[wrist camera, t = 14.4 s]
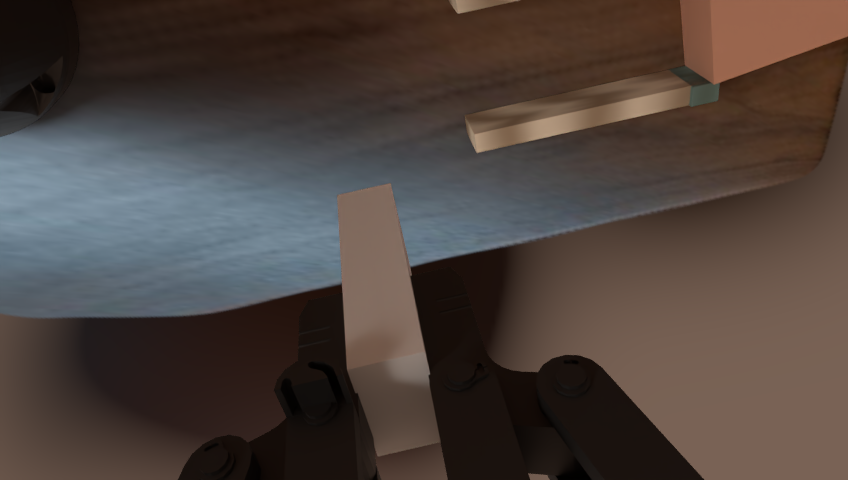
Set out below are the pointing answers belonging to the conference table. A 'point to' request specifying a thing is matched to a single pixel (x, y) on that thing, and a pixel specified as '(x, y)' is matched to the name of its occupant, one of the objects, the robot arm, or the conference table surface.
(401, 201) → the conference table surface
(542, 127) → the tan piece
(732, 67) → the block
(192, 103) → the conference table surface
